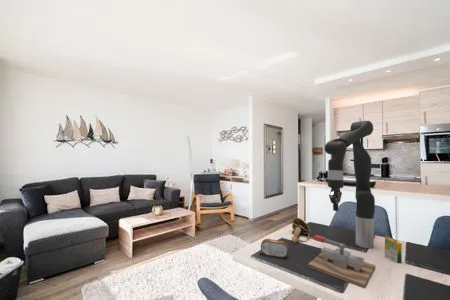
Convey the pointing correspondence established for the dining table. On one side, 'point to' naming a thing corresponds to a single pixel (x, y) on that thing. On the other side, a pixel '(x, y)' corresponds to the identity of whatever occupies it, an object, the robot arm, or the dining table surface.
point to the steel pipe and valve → (342, 258)
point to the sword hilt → (299, 229)
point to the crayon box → (393, 249)
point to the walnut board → (343, 271)
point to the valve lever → (330, 242)
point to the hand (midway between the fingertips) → (335, 210)
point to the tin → (274, 248)
